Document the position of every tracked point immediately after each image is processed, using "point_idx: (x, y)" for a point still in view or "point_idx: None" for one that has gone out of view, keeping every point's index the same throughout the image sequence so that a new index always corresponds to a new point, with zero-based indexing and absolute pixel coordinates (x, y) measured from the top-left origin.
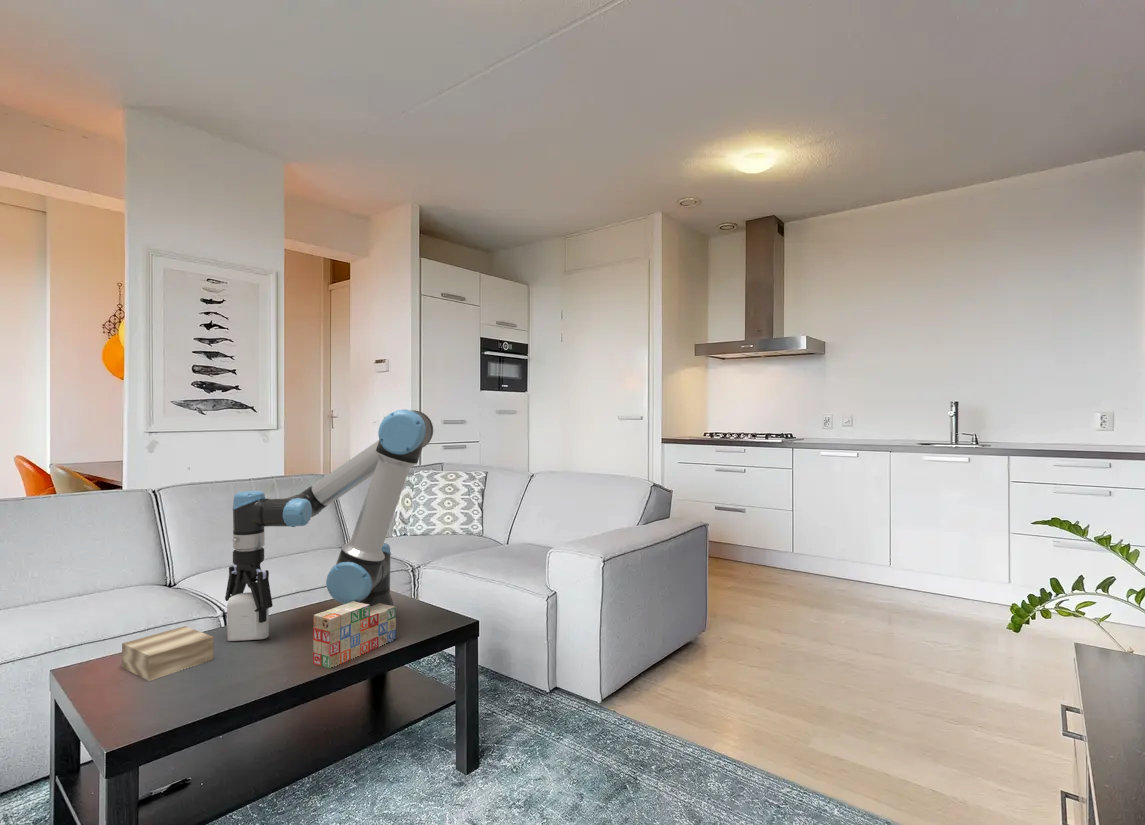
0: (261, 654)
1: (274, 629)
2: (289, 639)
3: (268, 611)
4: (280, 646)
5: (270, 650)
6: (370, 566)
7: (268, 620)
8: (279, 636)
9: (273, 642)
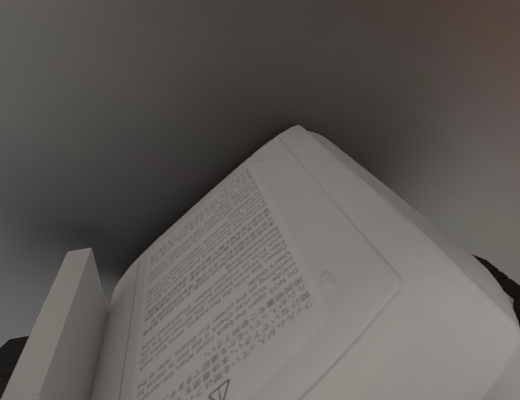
0: (513, 278)
1: (190, 12)
2: (474, 65)
3: (409, 205)
4: (516, 164)
5: (512, 227)
6: None
7: (375, 177)
8: (366, 76)
9: (426, 158)
